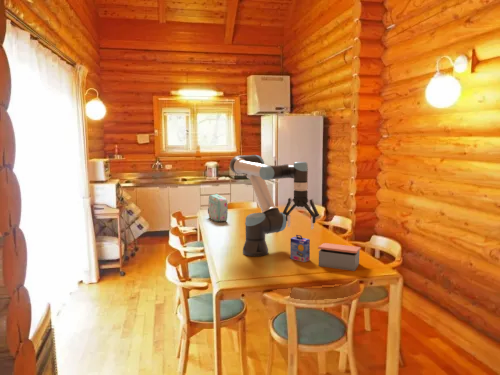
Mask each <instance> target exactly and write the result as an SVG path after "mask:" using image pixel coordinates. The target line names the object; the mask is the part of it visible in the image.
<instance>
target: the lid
mask: <svg viewBox="0 0 500 375" xmlns="http://www.w3.org/2000/svg"><path fill="white" fill-rule="evenodd" d="M317 249H319V250H321V249H325V250H333V251H341V252H349V253H357V252H358V251H359V252H360V250H362V247H360V246H353V245H346V244H345V245H343V244H338V243H337V244H336V243H328V242H324V243H322V244H320V245H318V246H317Z"/></svg>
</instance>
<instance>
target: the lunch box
mask: <svg viewBox="0 0 500 375" xmlns="http://www.w3.org/2000/svg"><path fill="white" fill-rule="evenodd" d="M228 212H229V211H228V200H227V198H226V197H225V196H222V195H220V194H218V193H215V194H210V195H209V197H208V208H207V214H208V218H209V219H211V220H212V221H215V222H218V223H219V222H227V220H228V214H229V213H228Z"/></svg>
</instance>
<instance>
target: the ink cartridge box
mask: <svg viewBox="0 0 500 375" xmlns="http://www.w3.org/2000/svg"><path fill="white" fill-rule="evenodd" d="M295 235H296V236H292V237H291V238H289V239H290V244H289V245H290V260H293V261H298V262H302V263H306V262H308V261H310V260H311V259H310V258H311V256H310V254H311V252H310V241H311V240H310V238H306V237H305V238H304V237H303V236H302V235H300V234H295Z"/></svg>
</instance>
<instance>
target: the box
mask: <svg viewBox="0 0 500 375" xmlns="http://www.w3.org/2000/svg"><path fill="white" fill-rule="evenodd" d="M359 265H360V250H359V251H358V252H357V253H349V252H341V251H333V250H325V249H319V251H318V266H319V267H325V268H332V269H336V270H337V269H339V270H344V271H345V270H346V271H351V272H352V271H353V272H355V271H356V270H357V268H358V267H359Z"/></svg>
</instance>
